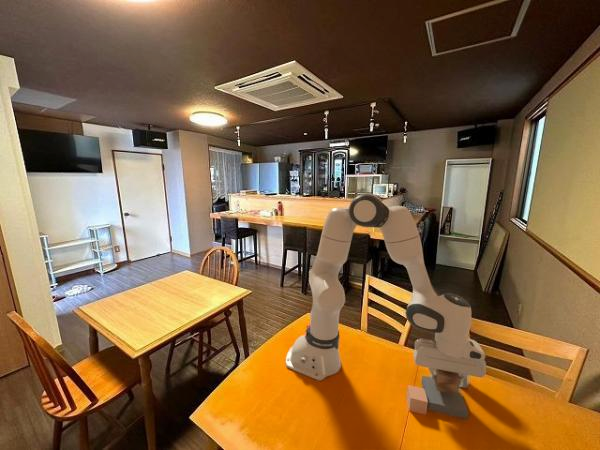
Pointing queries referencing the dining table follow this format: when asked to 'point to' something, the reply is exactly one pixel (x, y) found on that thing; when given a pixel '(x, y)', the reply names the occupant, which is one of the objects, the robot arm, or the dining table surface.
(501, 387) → the dining table surface
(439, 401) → the plinth
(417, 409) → the terracotta cube
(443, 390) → the walnut cube
